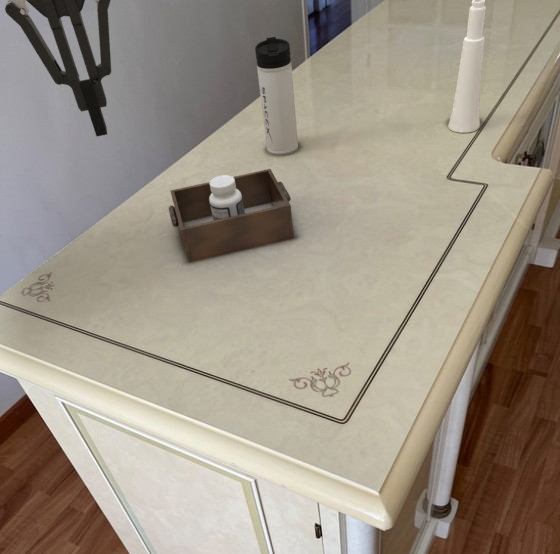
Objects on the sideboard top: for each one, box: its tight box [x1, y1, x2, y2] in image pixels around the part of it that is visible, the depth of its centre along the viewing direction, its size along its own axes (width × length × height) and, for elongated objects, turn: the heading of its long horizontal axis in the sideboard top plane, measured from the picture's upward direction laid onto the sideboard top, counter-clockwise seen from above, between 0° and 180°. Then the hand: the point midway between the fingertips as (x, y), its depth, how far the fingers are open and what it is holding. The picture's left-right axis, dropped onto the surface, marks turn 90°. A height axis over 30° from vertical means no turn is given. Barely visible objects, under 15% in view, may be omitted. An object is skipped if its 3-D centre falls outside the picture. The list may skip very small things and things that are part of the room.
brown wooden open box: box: [168, 168, 295, 263], centre depth 96 cm, size 19×13×7 cm
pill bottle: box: [209, 174, 246, 221], centre depth 95 cm, size 5×5×9 cm
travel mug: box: [254, 36, 299, 157], centre depth 111 cm, size 6×7×20 cm
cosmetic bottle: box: [447, 0, 487, 134], centre depth 110 cm, size 6×6×22 cm
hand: (101, 131), depth 82 cm, fingers closed
